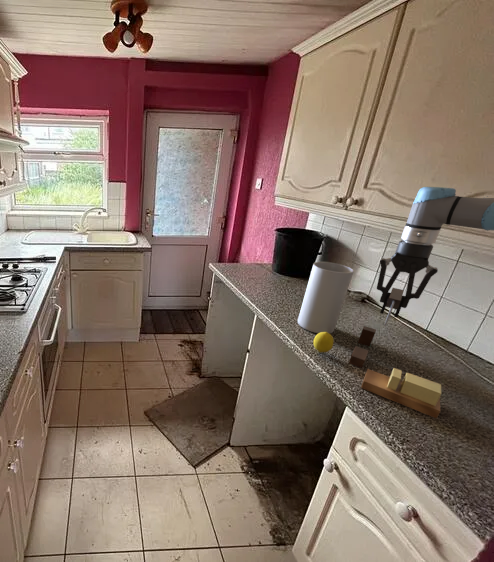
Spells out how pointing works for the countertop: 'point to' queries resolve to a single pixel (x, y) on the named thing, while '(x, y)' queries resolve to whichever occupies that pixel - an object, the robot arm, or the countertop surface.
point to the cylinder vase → (324, 296)
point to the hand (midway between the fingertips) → (388, 313)
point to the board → (397, 394)
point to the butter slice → (394, 379)
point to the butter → (421, 389)
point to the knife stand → (360, 353)
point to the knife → (394, 301)
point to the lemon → (323, 342)
